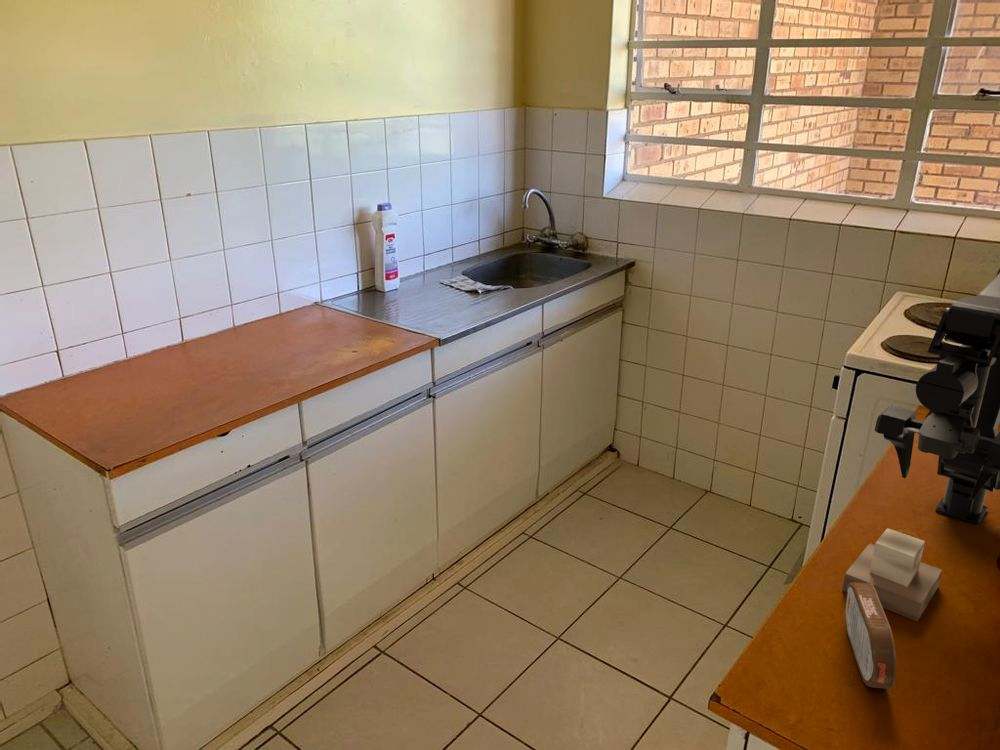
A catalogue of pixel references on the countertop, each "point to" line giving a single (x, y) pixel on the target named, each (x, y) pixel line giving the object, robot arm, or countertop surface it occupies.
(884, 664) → the tin
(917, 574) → the base
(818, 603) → the countertop surface
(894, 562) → the block
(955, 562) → the countertop surface
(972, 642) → the countertop surface
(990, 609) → the countertop surface
